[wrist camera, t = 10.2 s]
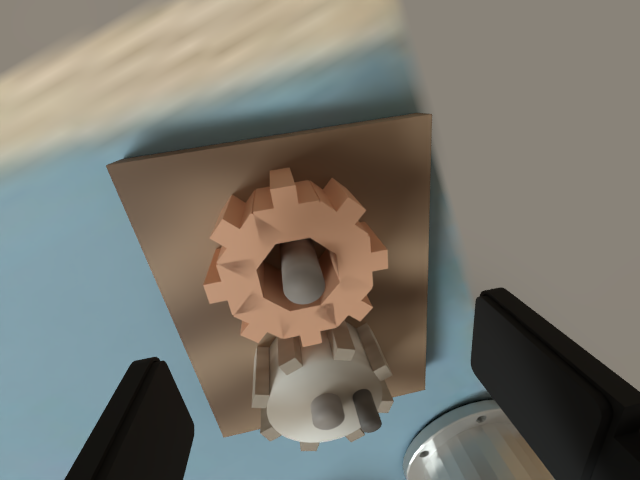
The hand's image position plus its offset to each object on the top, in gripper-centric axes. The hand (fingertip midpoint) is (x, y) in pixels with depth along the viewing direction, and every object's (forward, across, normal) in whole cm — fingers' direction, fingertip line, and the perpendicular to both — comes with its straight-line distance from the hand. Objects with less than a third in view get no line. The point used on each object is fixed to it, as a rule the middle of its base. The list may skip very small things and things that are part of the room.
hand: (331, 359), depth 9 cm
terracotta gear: (+7, +1, -1) cm, 7 cm away
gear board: (+9, 0, +3) cm, 9 cm away
